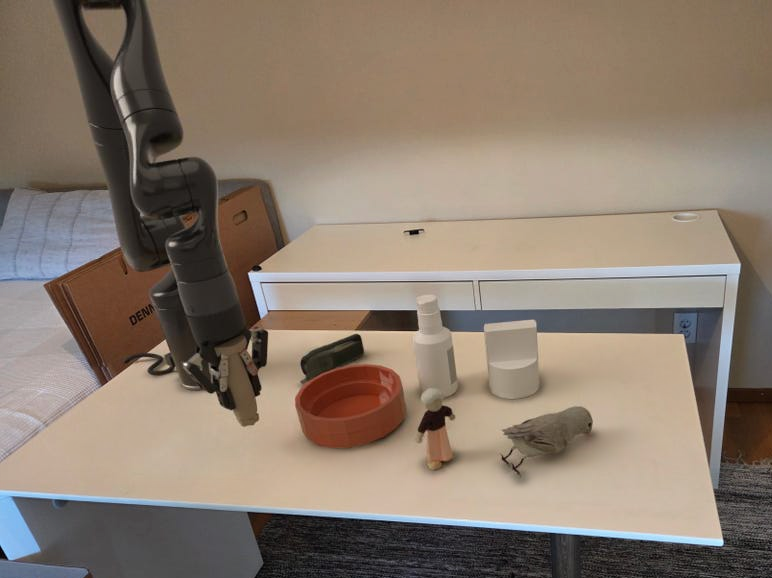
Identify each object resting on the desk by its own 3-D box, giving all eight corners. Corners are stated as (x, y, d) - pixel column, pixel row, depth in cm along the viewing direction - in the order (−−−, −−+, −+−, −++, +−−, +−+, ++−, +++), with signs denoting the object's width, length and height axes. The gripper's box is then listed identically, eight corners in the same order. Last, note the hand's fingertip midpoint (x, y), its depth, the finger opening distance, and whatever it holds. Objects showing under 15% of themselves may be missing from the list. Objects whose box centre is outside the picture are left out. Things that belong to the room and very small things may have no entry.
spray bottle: (466, 386, 115) (455, 295, 106) (438, 403, 111) (425, 310, 102) (440, 375, 119) (427, 287, 110) (413, 391, 115) (398, 301, 106)
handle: (256, 433, 99) (230, 349, 91) (223, 427, 101) (195, 345, 94) (275, 416, 103) (251, 334, 95) (243, 410, 105) (217, 330, 98)
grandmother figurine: (437, 477, 93) (426, 405, 87) (417, 470, 95) (404, 399, 89) (466, 448, 99) (457, 378, 93) (446, 442, 101) (436, 373, 95)
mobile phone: (355, 330, 129) (290, 358, 120) (364, 334, 127) (298, 362, 118) (359, 352, 131) (295, 381, 122) (367, 356, 129) (304, 386, 120)
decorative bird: (602, 441, 97) (602, 400, 94) (516, 483, 91) (512, 441, 87) (579, 425, 101) (578, 385, 98) (495, 464, 95) (491, 423, 91)
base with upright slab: (536, 370, 118) (533, 312, 112) (542, 396, 110) (539, 335, 104) (488, 375, 118) (482, 316, 112) (490, 401, 110) (484, 340, 104)
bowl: (282, 430, 108) (273, 400, 105) (359, 383, 120) (353, 355, 117) (350, 465, 98) (342, 433, 95) (427, 410, 109) (423, 380, 106)
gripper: (239, 280, 98) (267, 374, 107) (151, 315, 89) (188, 416, 97) (268, 289, 94) (294, 387, 102) (178, 327, 85) (215, 431, 93)
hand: (242, 400), depth 100 cm, fingers closed on handle, 4 cm apart
